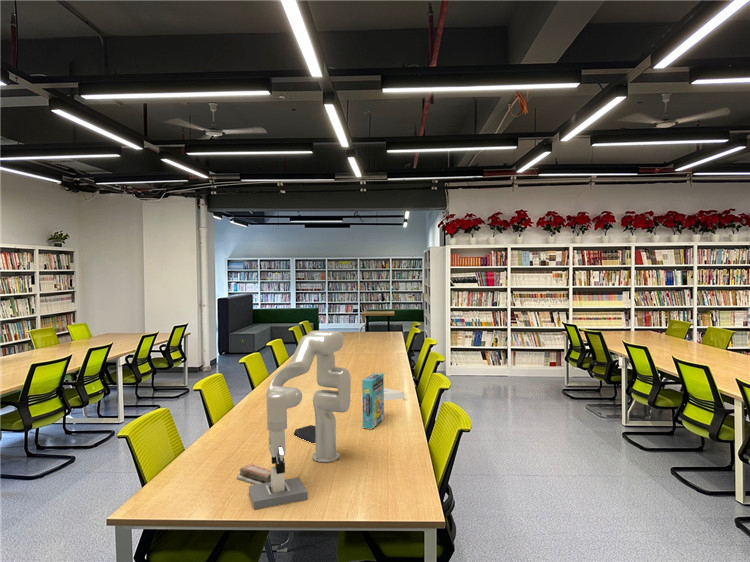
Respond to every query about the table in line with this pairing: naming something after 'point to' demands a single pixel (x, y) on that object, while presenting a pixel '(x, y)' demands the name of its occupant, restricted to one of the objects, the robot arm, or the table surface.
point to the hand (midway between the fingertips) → (278, 468)
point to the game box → (373, 399)
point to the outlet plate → (277, 494)
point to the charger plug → (277, 481)
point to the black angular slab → (306, 433)
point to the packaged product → (254, 474)
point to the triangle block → (391, 395)
